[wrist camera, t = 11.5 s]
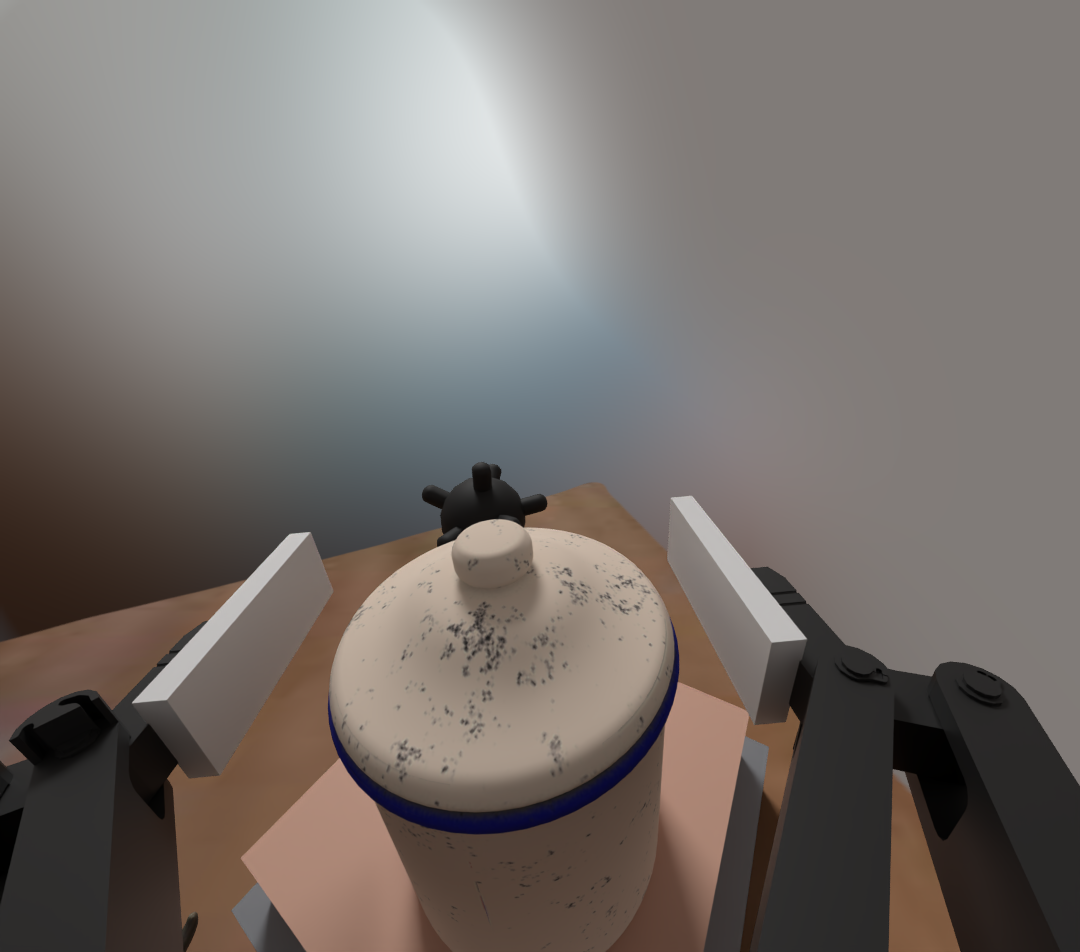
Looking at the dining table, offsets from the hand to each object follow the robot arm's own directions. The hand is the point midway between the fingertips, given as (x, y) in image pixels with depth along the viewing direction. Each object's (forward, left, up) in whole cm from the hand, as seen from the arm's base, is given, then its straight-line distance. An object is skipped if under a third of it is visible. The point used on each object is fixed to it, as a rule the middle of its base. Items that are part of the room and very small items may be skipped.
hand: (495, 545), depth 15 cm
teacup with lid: (+1, -3, -9) cm, 9 cm away
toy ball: (-14, +13, -15) cm, 24 cm away
